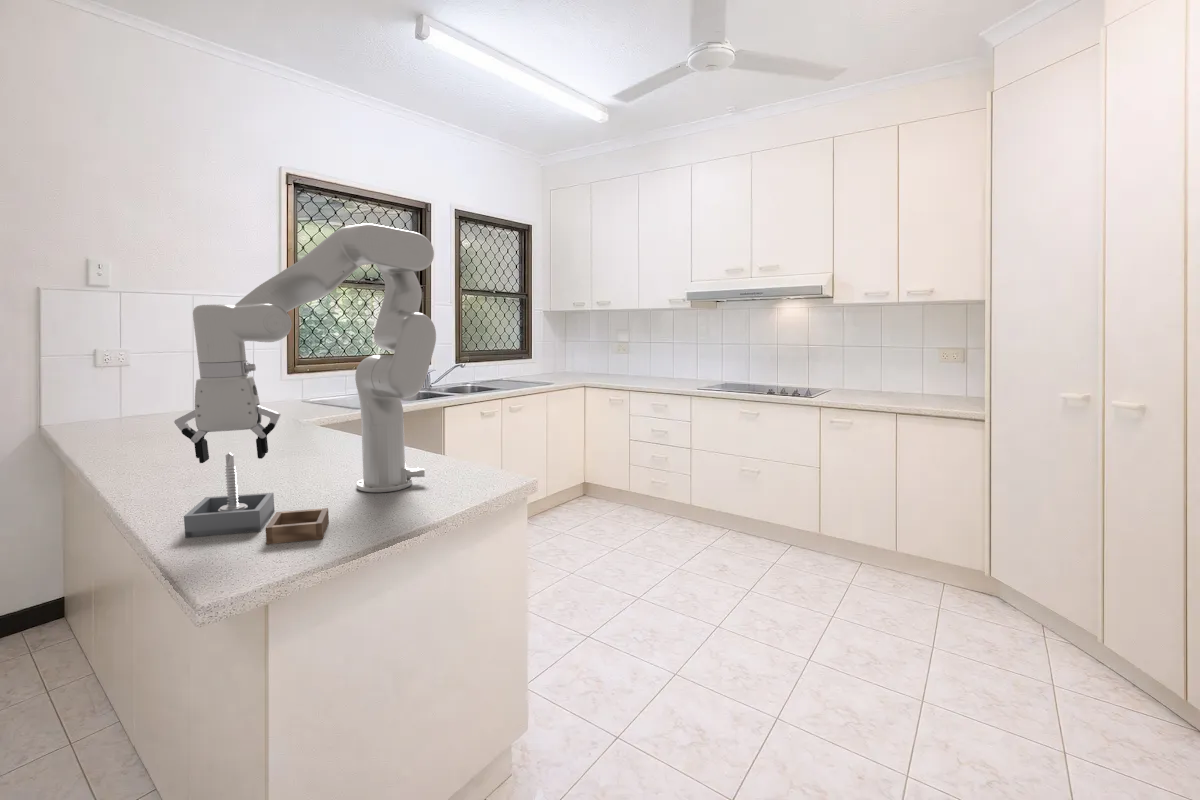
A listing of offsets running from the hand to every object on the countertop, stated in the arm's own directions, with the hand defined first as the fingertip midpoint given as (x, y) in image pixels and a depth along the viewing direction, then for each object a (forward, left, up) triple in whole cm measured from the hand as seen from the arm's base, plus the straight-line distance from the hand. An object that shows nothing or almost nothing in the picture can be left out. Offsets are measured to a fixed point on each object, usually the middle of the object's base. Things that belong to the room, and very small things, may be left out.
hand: (233, 459), depth 110 cm
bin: (+1, +1, -13) cm, 13 cm away
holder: (-12, +10, -13) cm, 20 cm away
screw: (0, 0, -12) cm, 12 cm away
